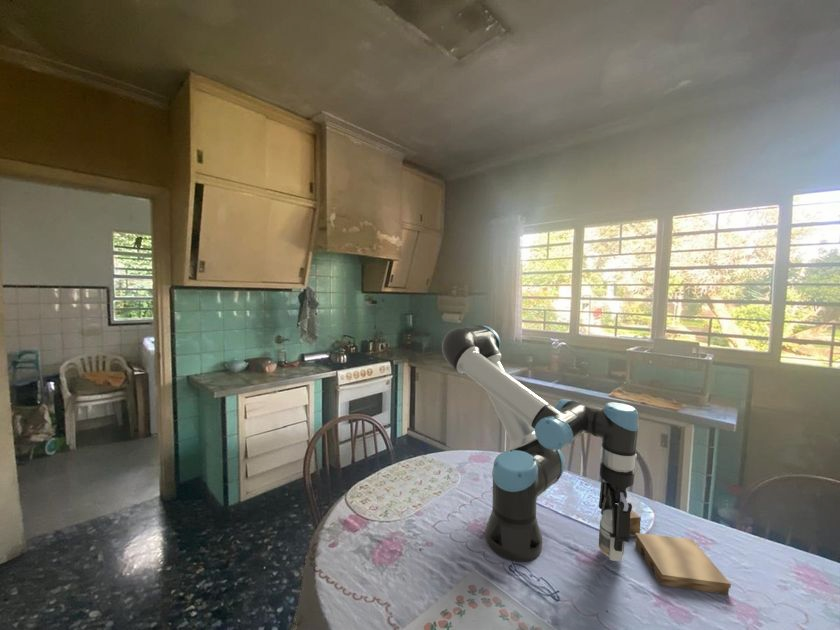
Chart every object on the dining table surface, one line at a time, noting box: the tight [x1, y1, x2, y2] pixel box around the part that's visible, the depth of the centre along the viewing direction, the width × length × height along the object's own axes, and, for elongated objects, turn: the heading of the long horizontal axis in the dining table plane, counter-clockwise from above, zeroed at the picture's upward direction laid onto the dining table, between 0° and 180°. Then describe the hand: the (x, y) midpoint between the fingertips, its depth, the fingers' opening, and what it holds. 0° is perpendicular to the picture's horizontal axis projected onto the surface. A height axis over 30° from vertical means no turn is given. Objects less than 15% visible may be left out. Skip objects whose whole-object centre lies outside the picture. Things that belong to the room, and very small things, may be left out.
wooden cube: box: [629, 508, 642, 535], centre depth 99 cm, size 5×5×5 cm
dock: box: [634, 532, 732, 595], centre depth 85 cm, size 14×14×3 cm
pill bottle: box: [598, 510, 625, 557], centre depth 87 cm, size 6×6×10 cm
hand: (610, 549), depth 88 cm, fingers closed on pill bottle, 6 cm apart
